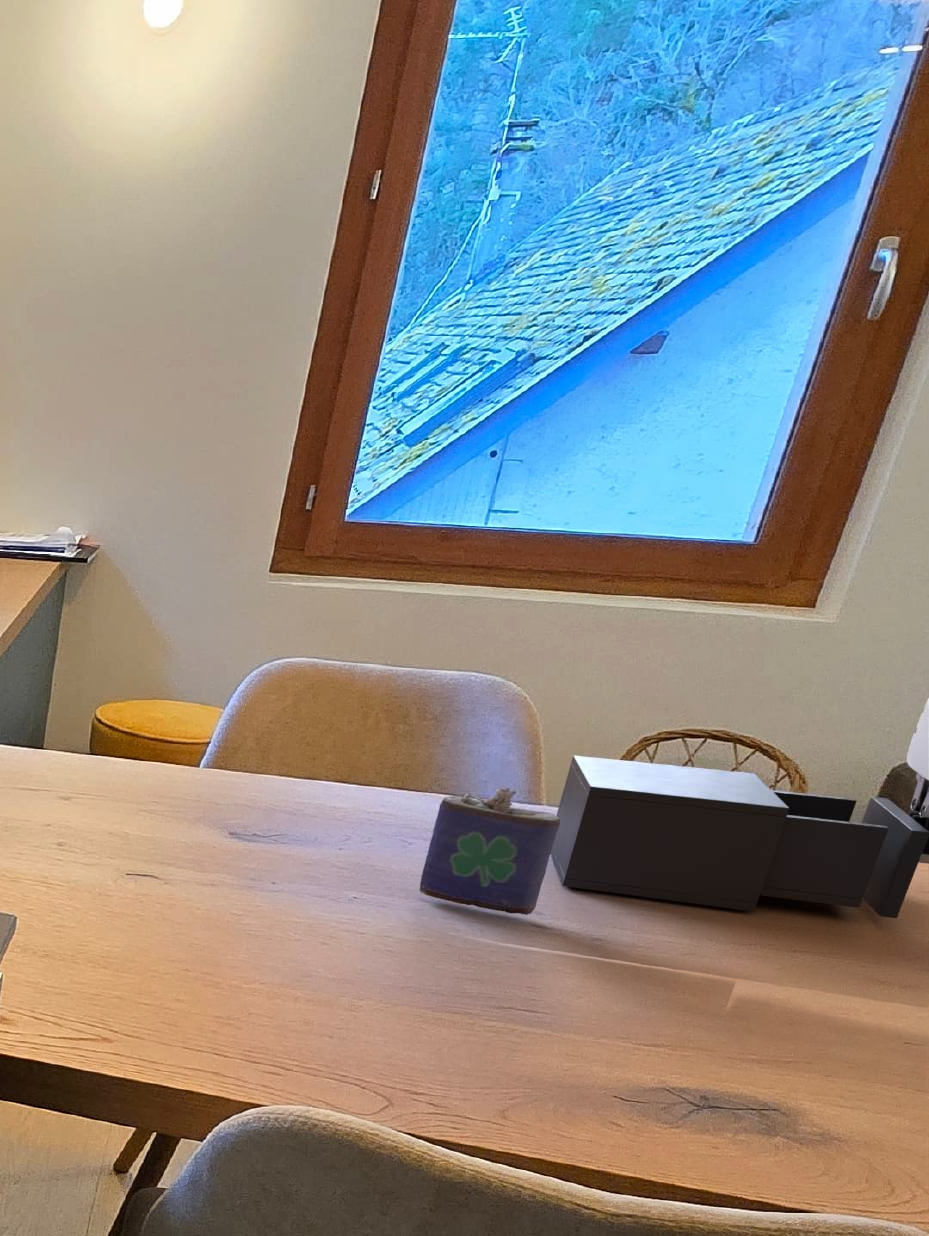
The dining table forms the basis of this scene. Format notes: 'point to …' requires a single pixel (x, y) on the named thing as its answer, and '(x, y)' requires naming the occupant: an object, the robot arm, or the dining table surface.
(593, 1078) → the dining table surface
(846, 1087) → the dining table surface
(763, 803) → the drawer cabinet
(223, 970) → the dining table surface
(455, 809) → the flask
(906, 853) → the grey sliding drawer
